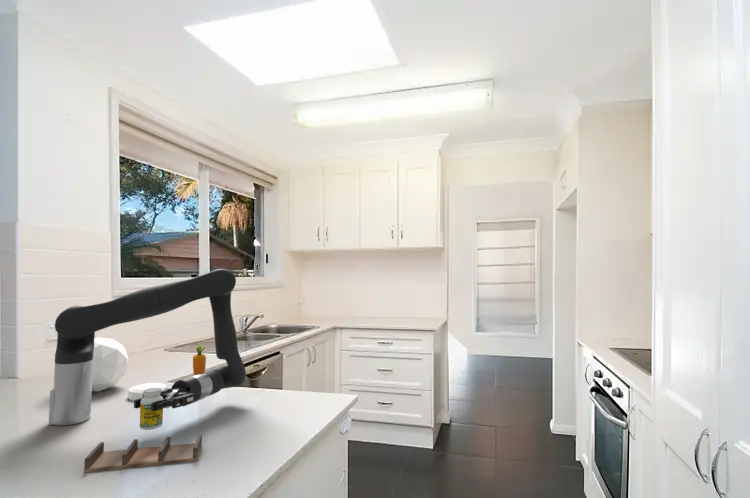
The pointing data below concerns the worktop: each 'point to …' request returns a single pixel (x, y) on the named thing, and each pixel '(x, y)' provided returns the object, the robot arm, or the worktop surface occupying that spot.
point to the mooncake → (138, 390)
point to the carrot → (199, 361)
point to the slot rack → (142, 455)
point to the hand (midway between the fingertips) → (143, 405)
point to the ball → (108, 363)
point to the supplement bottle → (146, 415)
